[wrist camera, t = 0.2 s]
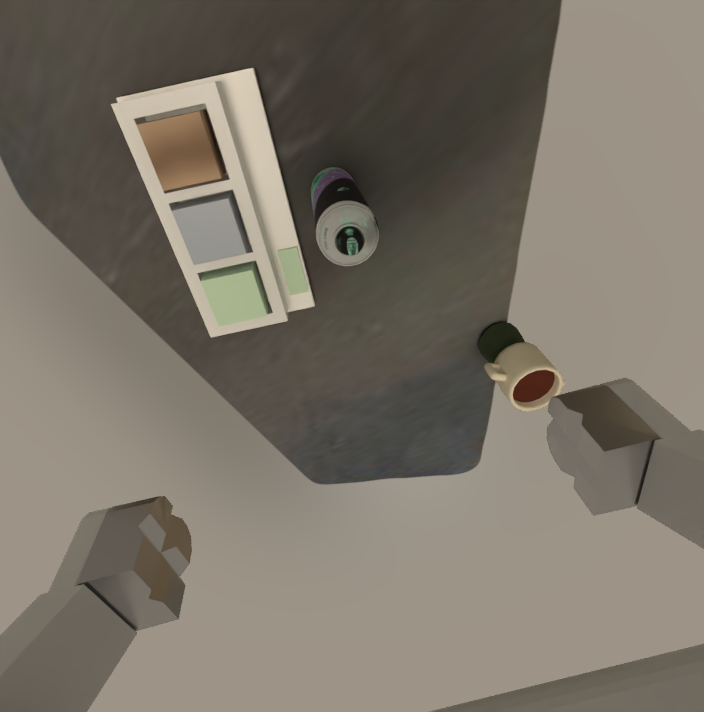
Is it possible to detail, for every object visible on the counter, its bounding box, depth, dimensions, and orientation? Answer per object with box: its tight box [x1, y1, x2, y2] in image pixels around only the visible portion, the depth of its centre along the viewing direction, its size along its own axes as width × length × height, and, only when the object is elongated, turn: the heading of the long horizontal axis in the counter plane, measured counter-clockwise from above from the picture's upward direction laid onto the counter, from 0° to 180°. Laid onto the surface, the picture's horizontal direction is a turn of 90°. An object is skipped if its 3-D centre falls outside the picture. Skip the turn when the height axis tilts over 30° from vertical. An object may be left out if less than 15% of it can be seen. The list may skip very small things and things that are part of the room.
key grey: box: [172, 191, 249, 265], centre depth 48 cm, size 6×6×4 cm
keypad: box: [111, 68, 315, 337], centre depth 50 cm, size 27×14×5 cm, turn 10°
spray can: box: [311, 167, 379, 266], centre depth 43 cm, size 6×6×20 cm
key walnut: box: [137, 109, 226, 191], centre depth 43 cm, size 6×6×4 cm
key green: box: [201, 261, 269, 326], centre depth 52 cm, size 6×6×4 cm
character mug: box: [478, 322, 565, 411], centre depth 60 cm, size 11×7×13 cm, turn 79°
